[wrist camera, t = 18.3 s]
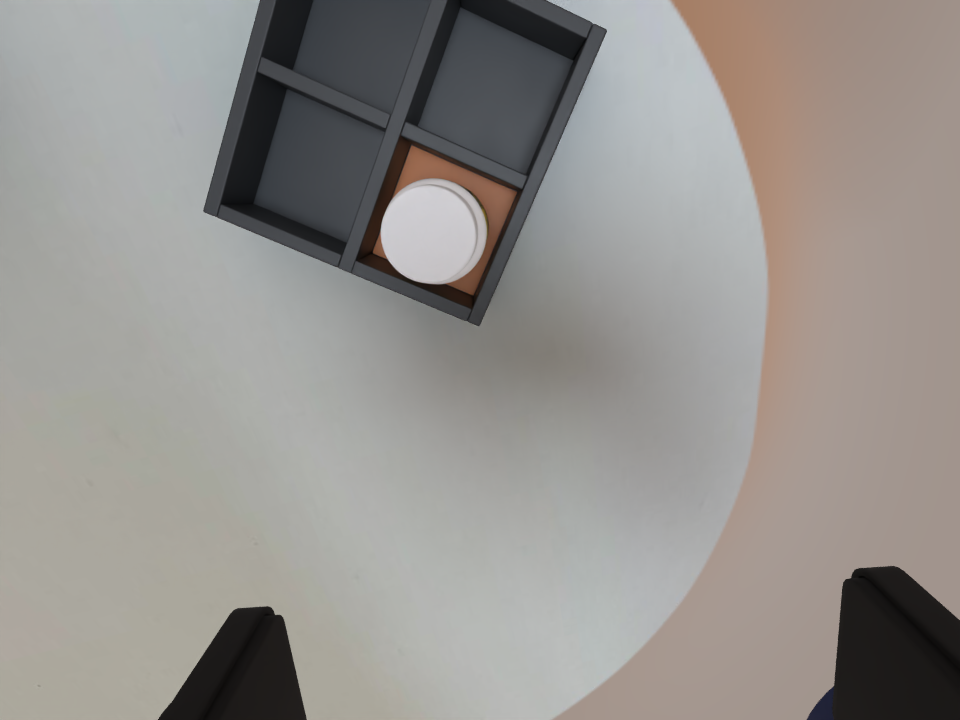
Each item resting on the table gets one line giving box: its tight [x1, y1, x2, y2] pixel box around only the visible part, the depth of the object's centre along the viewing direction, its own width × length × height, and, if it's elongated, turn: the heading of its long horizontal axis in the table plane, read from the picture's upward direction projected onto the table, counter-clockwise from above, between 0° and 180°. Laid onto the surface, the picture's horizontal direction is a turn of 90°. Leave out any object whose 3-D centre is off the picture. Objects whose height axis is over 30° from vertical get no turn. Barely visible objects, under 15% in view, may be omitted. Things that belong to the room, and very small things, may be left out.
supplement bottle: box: [381, 178, 489, 284], centre depth 27 cm, size 5×5×8 cm
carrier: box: [203, 0, 607, 326], centre depth 28 cm, size 15×15×4 cm
